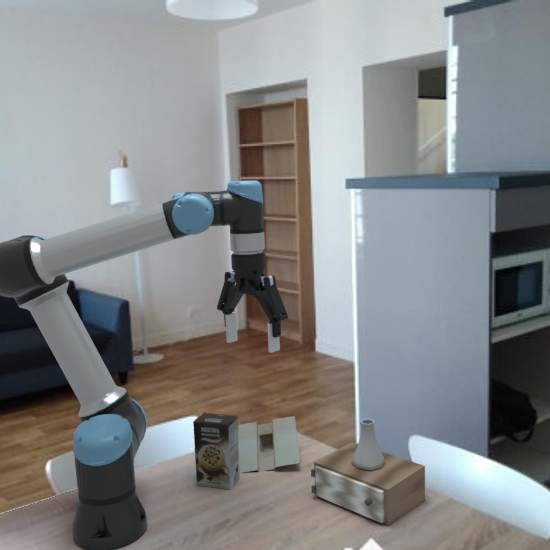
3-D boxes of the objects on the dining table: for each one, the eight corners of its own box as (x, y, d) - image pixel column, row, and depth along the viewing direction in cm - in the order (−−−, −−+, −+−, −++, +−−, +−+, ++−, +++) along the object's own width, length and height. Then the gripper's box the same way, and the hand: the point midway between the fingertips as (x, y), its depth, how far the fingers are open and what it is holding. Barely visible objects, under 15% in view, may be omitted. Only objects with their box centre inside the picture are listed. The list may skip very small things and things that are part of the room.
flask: (366, 453, 150) (365, 412, 148) (391, 463, 145) (390, 420, 143) (345, 464, 145) (344, 421, 144) (370, 474, 140) (369, 430, 138)
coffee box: (195, 485, 155) (191, 421, 152) (206, 473, 161) (203, 411, 158) (231, 490, 152) (227, 424, 149) (241, 477, 158) (237, 414, 156)
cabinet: (309, 498, 147) (308, 464, 146) (353, 473, 158) (352, 442, 157) (383, 529, 133) (382, 493, 132) (425, 499, 144) (424, 465, 143)
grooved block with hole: (307, 476, 166) (300, 423, 175) (301, 463, 159) (295, 408, 169) (244, 486, 167) (241, 433, 177) (236, 473, 161) (233, 418, 170)
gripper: (302, 253, 136) (305, 351, 139) (223, 247, 153) (228, 334, 157) (277, 257, 131) (281, 359, 134) (198, 250, 148) (203, 341, 151)
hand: (252, 346), depth 145 cm, fingers open, 13 cm apart
